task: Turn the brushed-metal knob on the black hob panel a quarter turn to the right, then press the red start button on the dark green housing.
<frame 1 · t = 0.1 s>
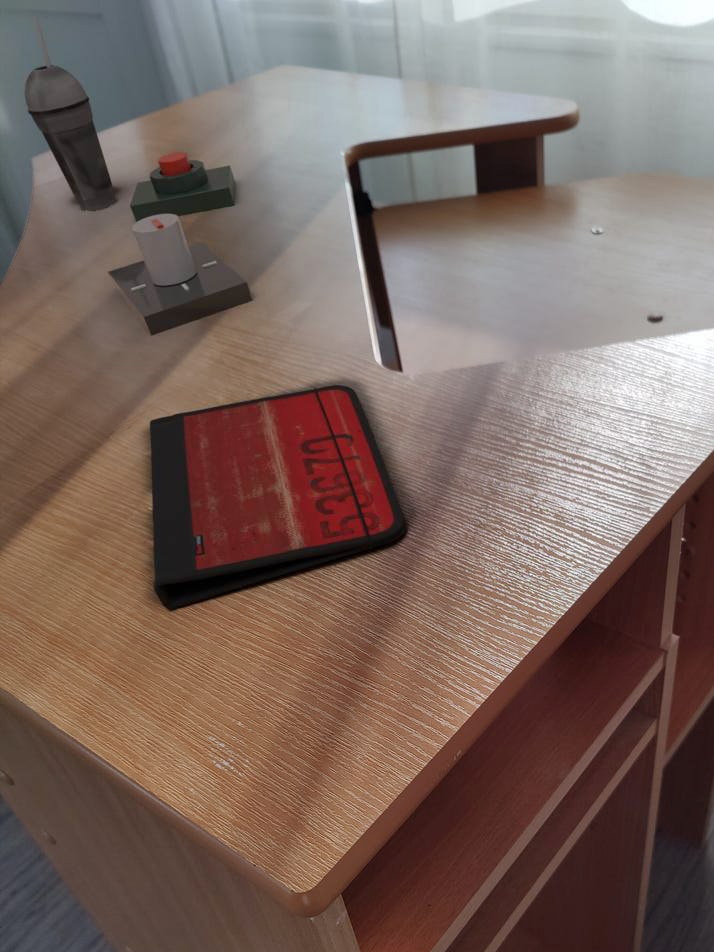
binder: (273, 491, 62), on the table
button box: (187, 203, 109), on the table
hob knob: (164, 248, 82), point 6 cm above the table, hinge at 0.0°
start button: (174, 164, 106), point 4 cm above the table, slide at 0.1 cm
beverage cup: (100, 207, 113), on the table
hob panel: (185, 306, 86), on the table
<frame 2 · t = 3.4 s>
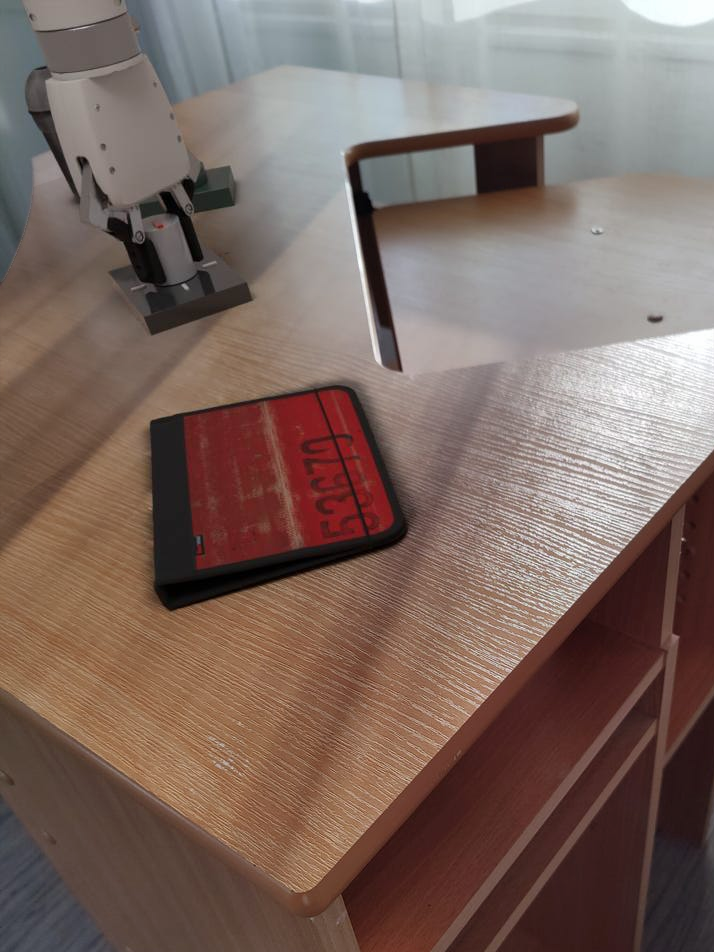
hand: (171, 268, 84), 4 cm above the table, tool pointing down, fingers closed on hob knob, 4 cm apart
hob knob: (164, 248, 82), point 6 cm above the table, hinge at 0.0°, touching gripper
everything else where it was.
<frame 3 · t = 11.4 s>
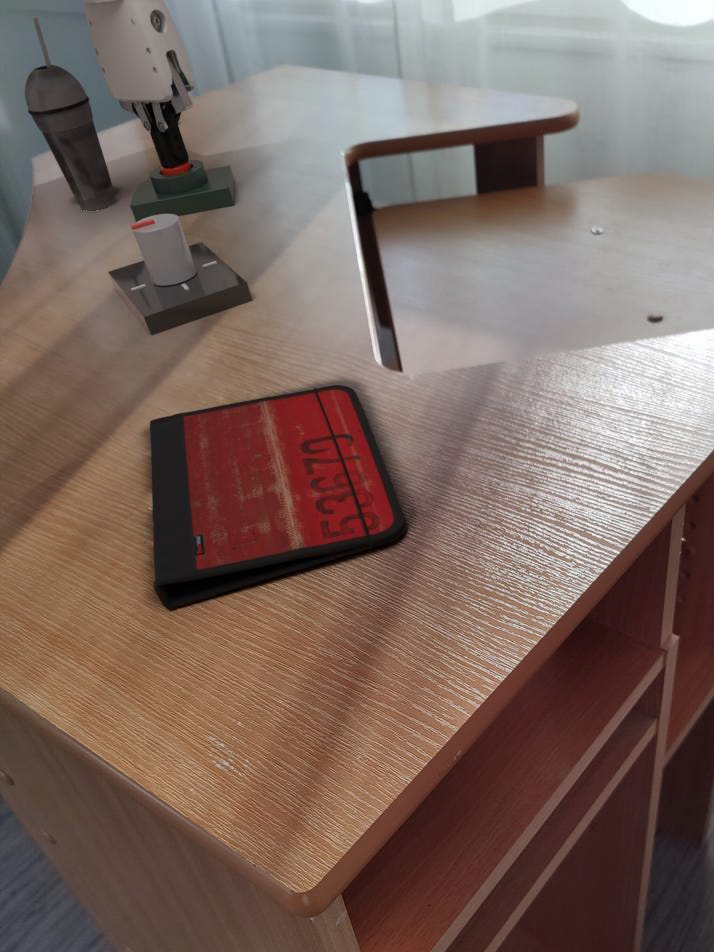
hand: (175, 164, 106), 5 cm above the table, tool pointing down, fingers closed
hob knob: (164, 248, 82), point 6 cm above the table, hinge at -92.3°
start button: (177, 172, 107), point 4 cm above the table, slide at -0.8 cm, touching gripper
everything else where it was.
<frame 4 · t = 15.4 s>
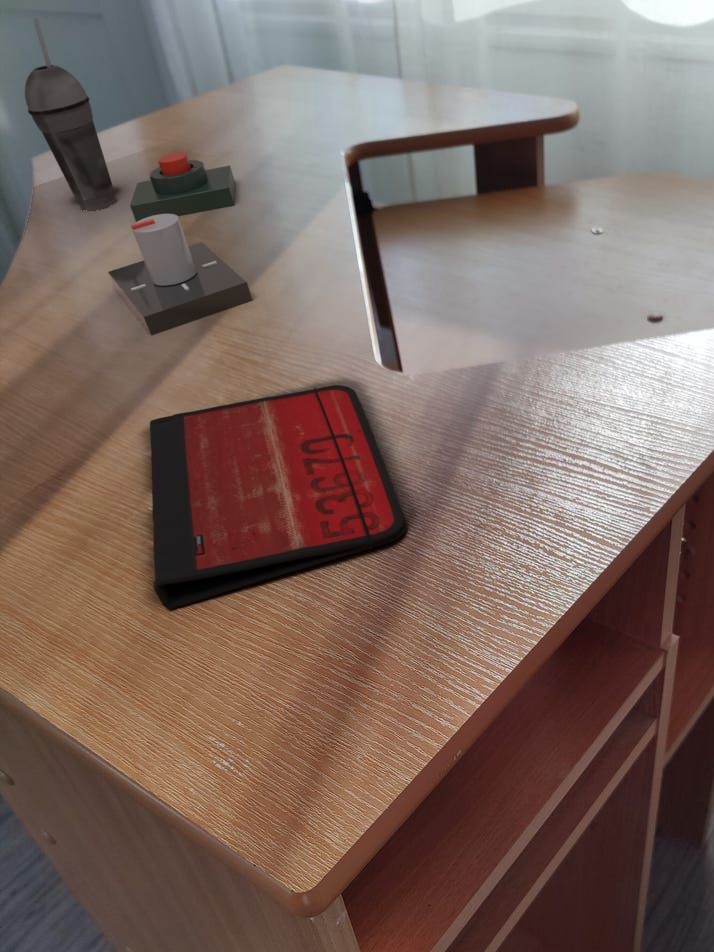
start button: (174, 164, 106), point 4 cm above the table, slide at 0.1 cm
everything else where it was.
at the end: hob knob at -92° (first picture: +0°); start button pushed in 1.1 cm at the most during the clip, back to where it started at the end; start button slide at 0.1 cm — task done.
